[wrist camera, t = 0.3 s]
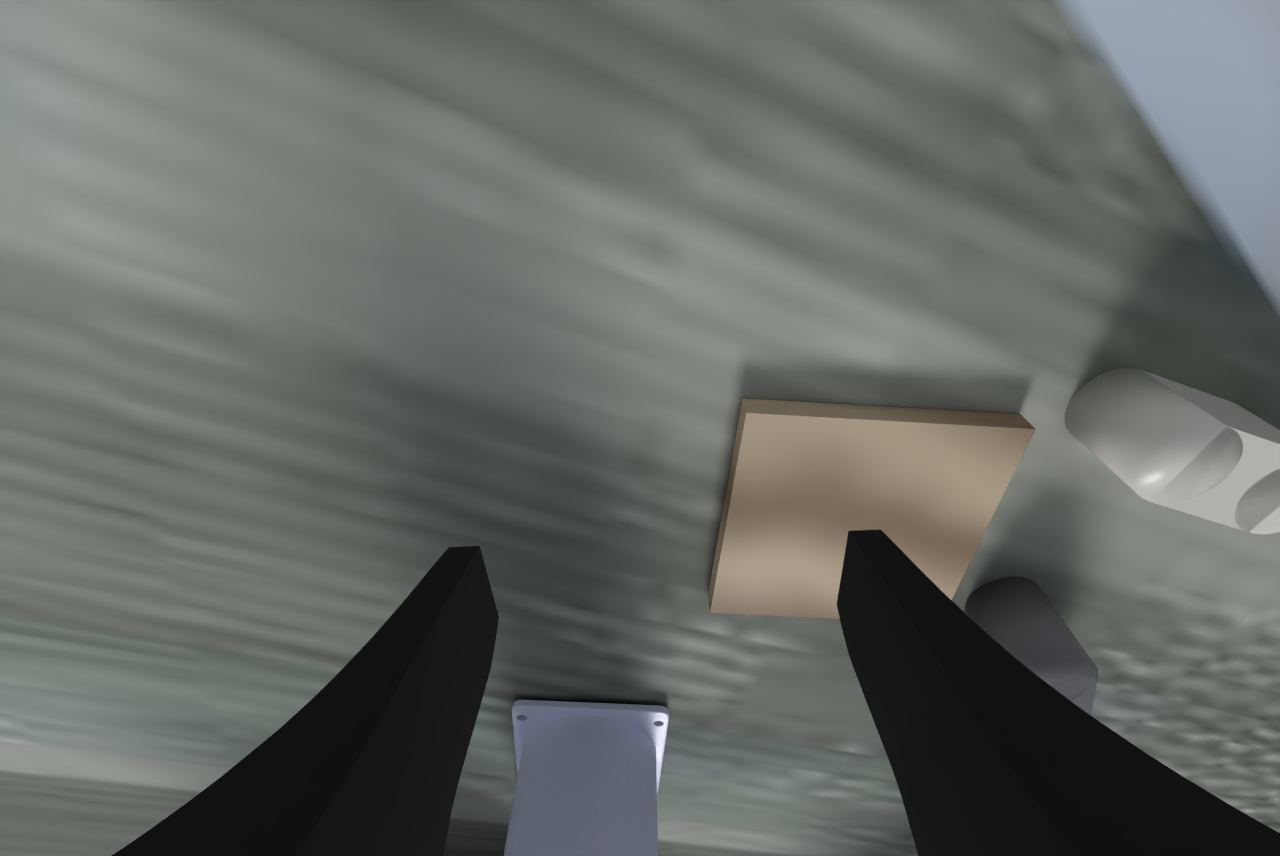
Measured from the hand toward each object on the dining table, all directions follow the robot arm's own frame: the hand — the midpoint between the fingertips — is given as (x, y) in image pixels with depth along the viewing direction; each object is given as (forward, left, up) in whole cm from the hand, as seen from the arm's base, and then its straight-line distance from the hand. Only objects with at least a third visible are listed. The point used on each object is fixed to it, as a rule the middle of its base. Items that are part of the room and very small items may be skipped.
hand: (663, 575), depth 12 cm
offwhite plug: (-1, -18, -10) cm, 21 cm away
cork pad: (-6, -8, -10) cm, 14 cm away
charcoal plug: (-15, -18, -10) cm, 25 cm away
